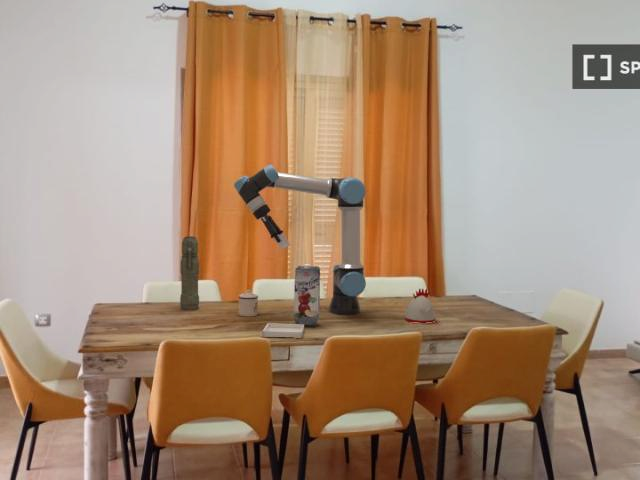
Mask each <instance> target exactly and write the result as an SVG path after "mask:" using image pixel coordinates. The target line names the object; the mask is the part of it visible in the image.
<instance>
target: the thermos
mask: <svg viewBox="0 0 640 480" xmlns="http://www.w3.org/2000/svg"><path fill="white" fill-rule="evenodd" d="M198 253H199V242H198V239H197V237H195V236H184V237H182V242H181V259H180V268H179V269H180V271H179V272H180V274H181V284H180V285H181V292H180V293H181V294H180V300H179V304H180V310H181V311H187V310H190V311H197V310H199V308H200V306H199V304H200V296H199V274H200V261H199V256H198Z"/></svg>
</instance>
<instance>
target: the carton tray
mask: <svg viewBox="0 0 640 480" xmlns="http://www.w3.org/2000/svg"><path fill="white" fill-rule="evenodd" d="M303 332H305V327H304V324H295V323H273V322H268V323H266V325H265V326H264V328H263V330H262V338H267V337H302V338H303V335H304V333H303Z"/></svg>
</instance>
